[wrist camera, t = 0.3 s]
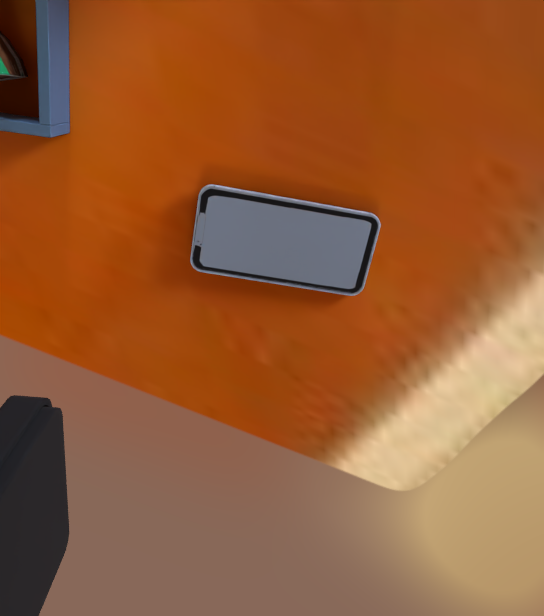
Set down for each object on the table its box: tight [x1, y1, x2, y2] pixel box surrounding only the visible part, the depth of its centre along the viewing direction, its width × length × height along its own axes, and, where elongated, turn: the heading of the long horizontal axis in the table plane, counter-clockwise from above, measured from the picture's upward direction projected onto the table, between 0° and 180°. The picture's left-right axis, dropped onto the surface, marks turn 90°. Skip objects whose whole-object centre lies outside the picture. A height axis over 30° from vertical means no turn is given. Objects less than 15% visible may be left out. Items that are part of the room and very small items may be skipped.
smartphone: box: [190, 184, 380, 296], centre depth 43 cm, size 7×1×15 cm
